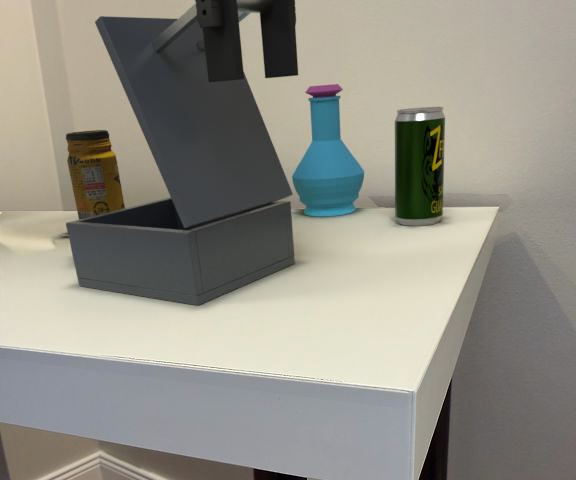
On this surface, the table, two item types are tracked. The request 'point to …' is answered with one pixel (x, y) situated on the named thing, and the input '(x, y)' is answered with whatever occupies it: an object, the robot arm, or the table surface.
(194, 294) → the gray storage case
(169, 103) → the lid
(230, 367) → the table surface
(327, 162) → the perfume bottle
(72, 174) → the condiment
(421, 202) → the beer can
